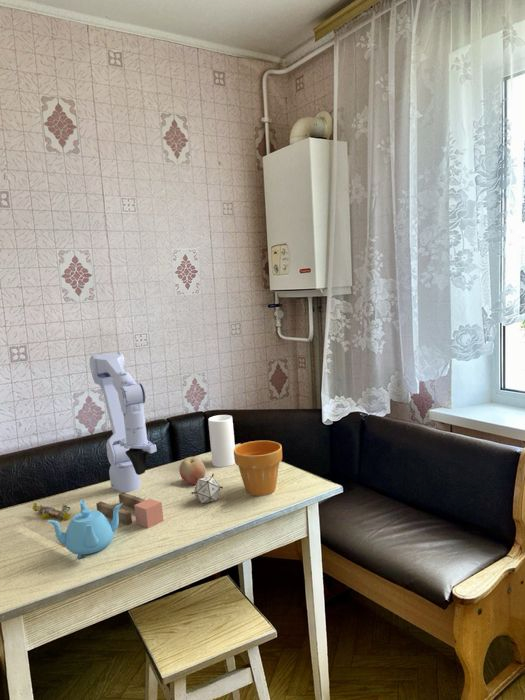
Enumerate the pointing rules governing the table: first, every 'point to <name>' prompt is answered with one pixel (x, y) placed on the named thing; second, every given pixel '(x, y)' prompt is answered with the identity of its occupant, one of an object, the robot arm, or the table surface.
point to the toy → (52, 512)
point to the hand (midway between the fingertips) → (140, 473)
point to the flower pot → (258, 465)
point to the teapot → (87, 531)
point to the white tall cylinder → (222, 440)
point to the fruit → (192, 470)
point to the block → (148, 512)
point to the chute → (123, 514)
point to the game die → (206, 489)
